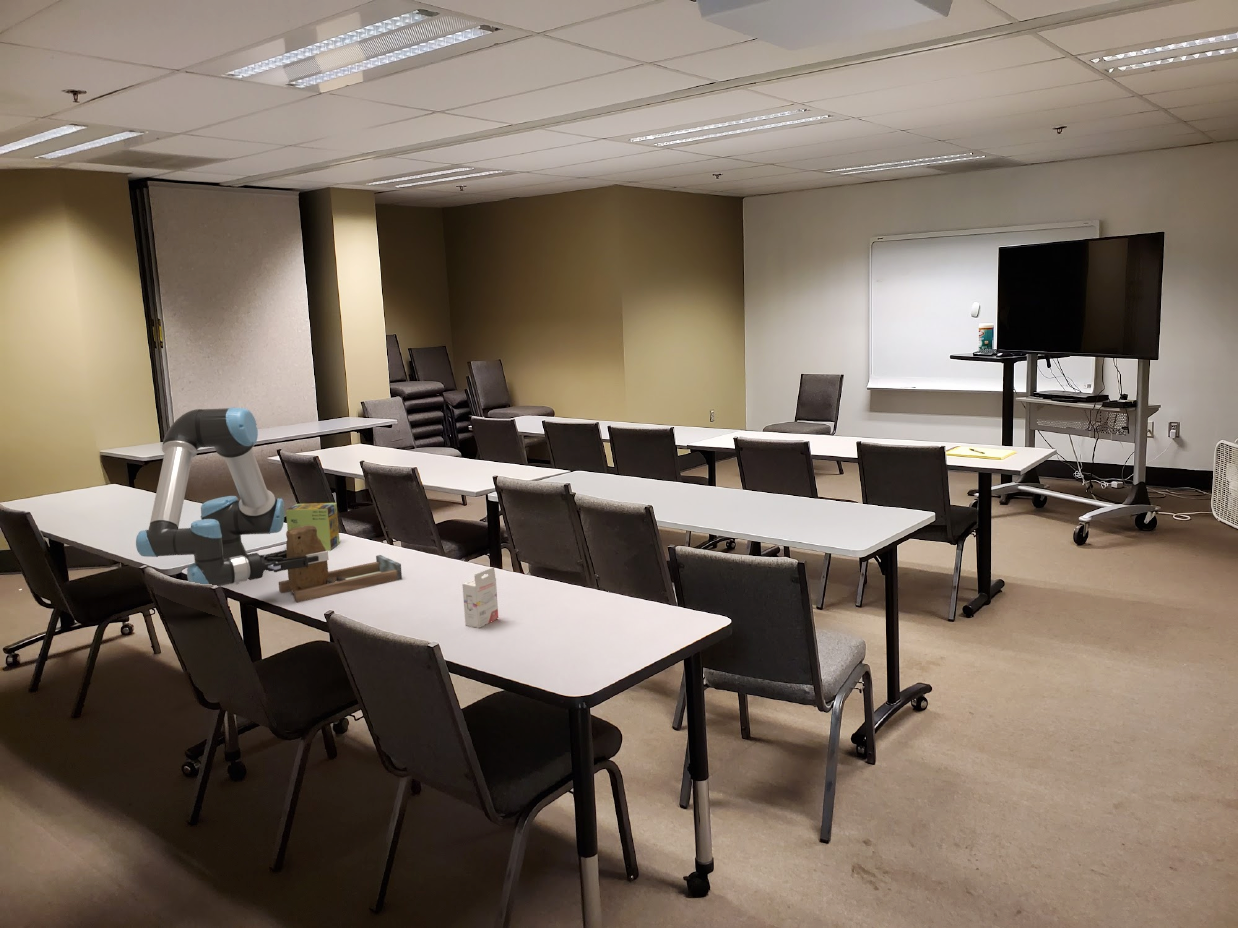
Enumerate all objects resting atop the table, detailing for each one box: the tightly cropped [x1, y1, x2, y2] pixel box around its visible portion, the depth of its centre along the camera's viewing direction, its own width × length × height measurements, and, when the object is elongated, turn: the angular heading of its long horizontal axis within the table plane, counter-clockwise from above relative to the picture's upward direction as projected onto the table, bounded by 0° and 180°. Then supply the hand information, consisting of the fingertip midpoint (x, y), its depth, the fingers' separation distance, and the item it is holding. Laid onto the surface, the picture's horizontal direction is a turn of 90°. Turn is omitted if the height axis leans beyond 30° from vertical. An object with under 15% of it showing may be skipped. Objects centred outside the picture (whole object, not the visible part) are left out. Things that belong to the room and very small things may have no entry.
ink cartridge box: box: [462, 567, 499, 629], centre depth 248 cm, size 9×5×15 cm, turn 148°
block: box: [285, 525, 329, 594], centre depth 279 cm, size 11×8×20 cm
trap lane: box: [278, 554, 403, 603], centre depth 287 cm, size 15×34×5 cm, turn 129°
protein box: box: [285, 502, 341, 552], centre depth 334 cm, size 10×15×16 cm
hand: (322, 552), depth 282 cm, fingers closed on block, 7 cm apart
